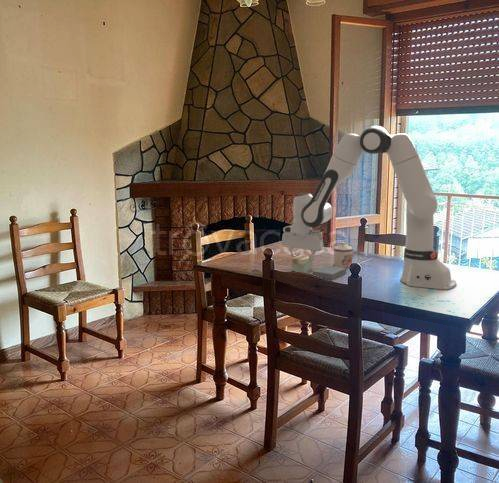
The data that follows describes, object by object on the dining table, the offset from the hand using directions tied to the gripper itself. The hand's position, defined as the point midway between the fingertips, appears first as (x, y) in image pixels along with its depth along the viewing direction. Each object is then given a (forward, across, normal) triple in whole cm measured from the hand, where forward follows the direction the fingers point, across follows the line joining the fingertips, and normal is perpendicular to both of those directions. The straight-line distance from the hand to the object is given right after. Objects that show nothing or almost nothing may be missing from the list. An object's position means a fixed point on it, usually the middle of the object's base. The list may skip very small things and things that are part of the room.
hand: (302, 258), depth 242 cm
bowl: (+6, 0, 0) cm, 6 cm away
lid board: (+2, 0, 0) cm, 2 cm away
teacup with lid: (+6, -12, -20) cm, 24 cm away
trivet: (+6, -14, 0) cm, 15 cm away
